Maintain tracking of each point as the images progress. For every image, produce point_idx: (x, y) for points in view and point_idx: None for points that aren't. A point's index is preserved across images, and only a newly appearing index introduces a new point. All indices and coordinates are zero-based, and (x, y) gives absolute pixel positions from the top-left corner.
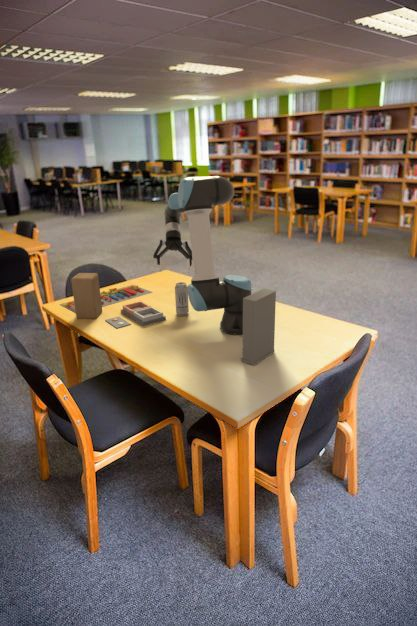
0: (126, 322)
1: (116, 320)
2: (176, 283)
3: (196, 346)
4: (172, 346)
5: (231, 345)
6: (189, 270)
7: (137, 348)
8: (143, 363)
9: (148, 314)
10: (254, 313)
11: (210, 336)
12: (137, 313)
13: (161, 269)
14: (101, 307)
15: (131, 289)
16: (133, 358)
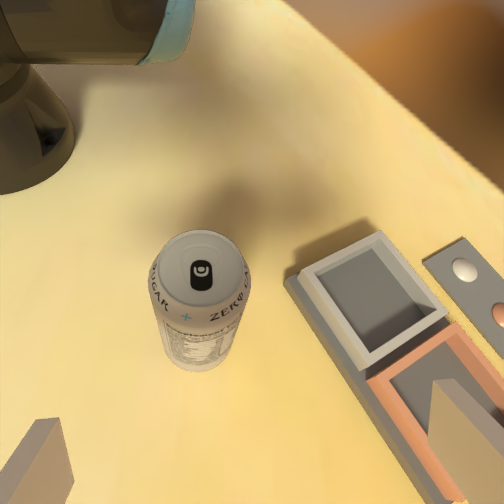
0: (445, 278)
1: (494, 305)
2: (238, 285)
3: (190, 73)
4: (258, 89)
5: None
6: (46, 426)
7: (355, 102)
8: (327, 44)
9: (370, 321)
10: None
11: (130, 112)
12: (421, 286)
13: (436, 392)
14: None
15: None
16: (354, 65)
